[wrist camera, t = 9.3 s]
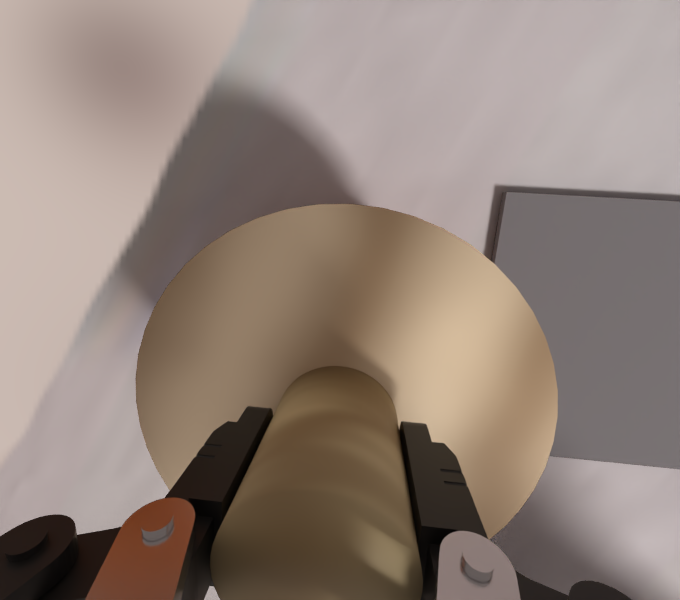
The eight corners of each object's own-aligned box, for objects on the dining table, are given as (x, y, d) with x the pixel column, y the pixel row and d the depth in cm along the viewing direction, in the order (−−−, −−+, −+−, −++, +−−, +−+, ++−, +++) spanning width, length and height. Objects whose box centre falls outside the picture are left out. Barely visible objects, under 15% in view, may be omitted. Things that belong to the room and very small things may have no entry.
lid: (579, 218, 10) (896, 213, 4) (500, 572, 13) (611, 859, 7) (142, 193, 11) (-131, 159, 5) (169, 532, 14) (25, 760, 8)
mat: (812, 209, 16) (826, 209, 16) (714, 467, 20) (723, 473, 19) (502, 192, 17) (506, 191, 17) (460, 442, 21) (463, 447, 20)
